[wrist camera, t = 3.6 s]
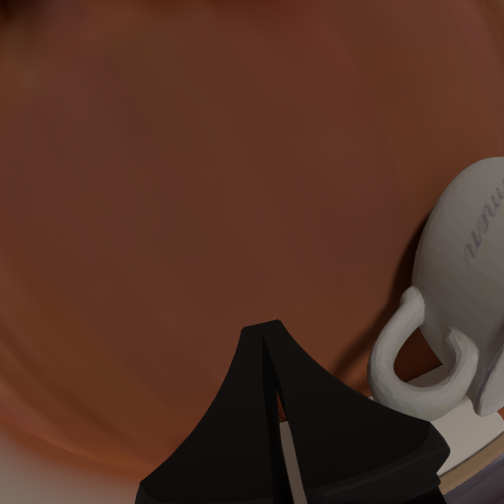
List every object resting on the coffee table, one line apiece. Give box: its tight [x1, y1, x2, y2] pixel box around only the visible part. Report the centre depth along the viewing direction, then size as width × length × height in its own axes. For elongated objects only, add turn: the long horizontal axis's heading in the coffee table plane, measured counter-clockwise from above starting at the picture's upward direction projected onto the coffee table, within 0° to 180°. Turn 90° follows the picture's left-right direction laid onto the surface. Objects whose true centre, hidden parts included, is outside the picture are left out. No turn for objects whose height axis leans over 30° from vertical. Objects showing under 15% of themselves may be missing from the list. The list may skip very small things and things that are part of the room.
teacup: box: [367, 157, 504, 422], centre depth 9 cm, size 14×11×8 cm
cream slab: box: [280, 365, 504, 504], centre depth 12 cm, size 16×2×9 cm, turn 102°
